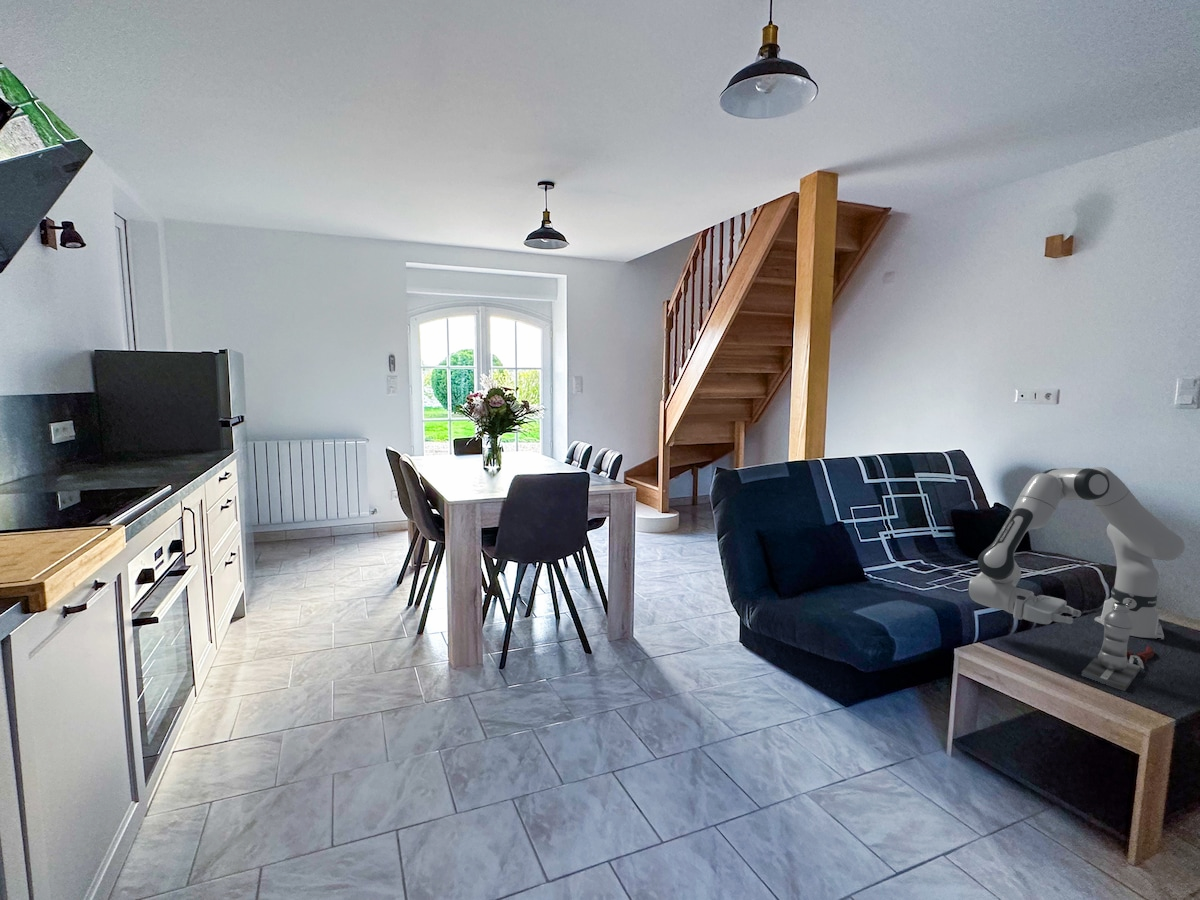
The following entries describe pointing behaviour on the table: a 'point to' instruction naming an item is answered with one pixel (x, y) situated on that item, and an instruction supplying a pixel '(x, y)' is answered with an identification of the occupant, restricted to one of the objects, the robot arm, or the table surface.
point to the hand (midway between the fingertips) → (1076, 617)
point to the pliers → (1140, 657)
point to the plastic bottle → (1116, 637)
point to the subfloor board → (1111, 674)
